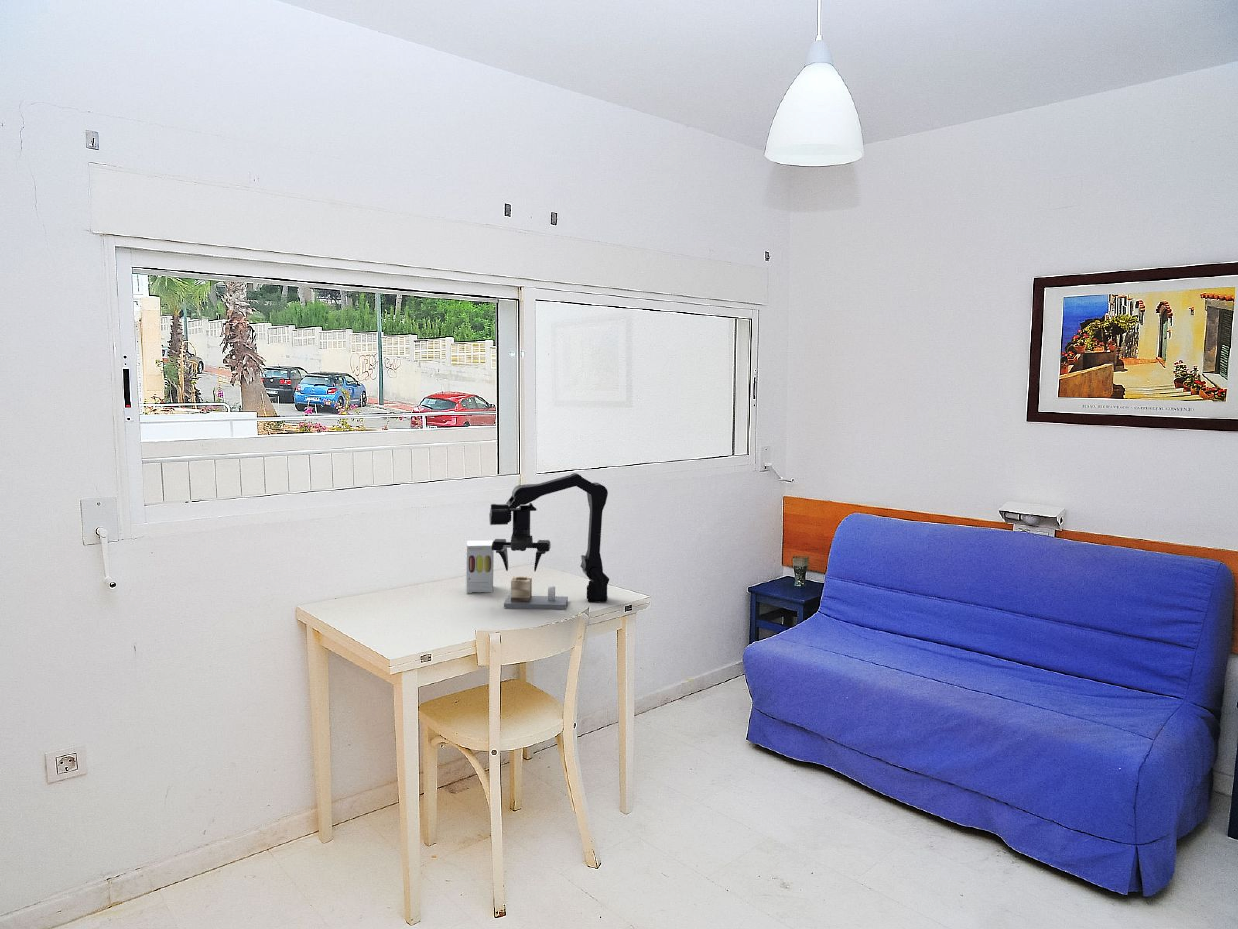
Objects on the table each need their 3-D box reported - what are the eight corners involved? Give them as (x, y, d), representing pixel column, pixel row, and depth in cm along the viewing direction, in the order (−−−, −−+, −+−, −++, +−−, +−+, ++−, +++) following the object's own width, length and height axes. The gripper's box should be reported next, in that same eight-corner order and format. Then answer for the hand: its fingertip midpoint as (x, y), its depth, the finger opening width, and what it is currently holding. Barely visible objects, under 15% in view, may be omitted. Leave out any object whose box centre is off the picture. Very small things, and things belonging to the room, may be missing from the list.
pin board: (567, 600, 272) (568, 583, 272) (565, 609, 262) (565, 591, 262) (508, 599, 272) (508, 582, 272) (503, 608, 263) (503, 590, 262)
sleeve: (531, 597, 270) (531, 576, 269) (529, 602, 264) (529, 581, 263) (513, 597, 270) (513, 576, 270) (510, 602, 264) (510, 581, 264)
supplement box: (466, 593, 279) (465, 545, 277) (465, 586, 288) (465, 540, 286) (494, 592, 281) (494, 545, 279) (492, 585, 290) (492, 539, 288)
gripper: (488, 528, 257) (488, 576, 258) (547, 529, 256) (546, 577, 258) (494, 521, 268) (494, 568, 269) (550, 523, 267) (550, 569, 269)
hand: (521, 571), depth 266 cm, fingers open, 9 cm apart
